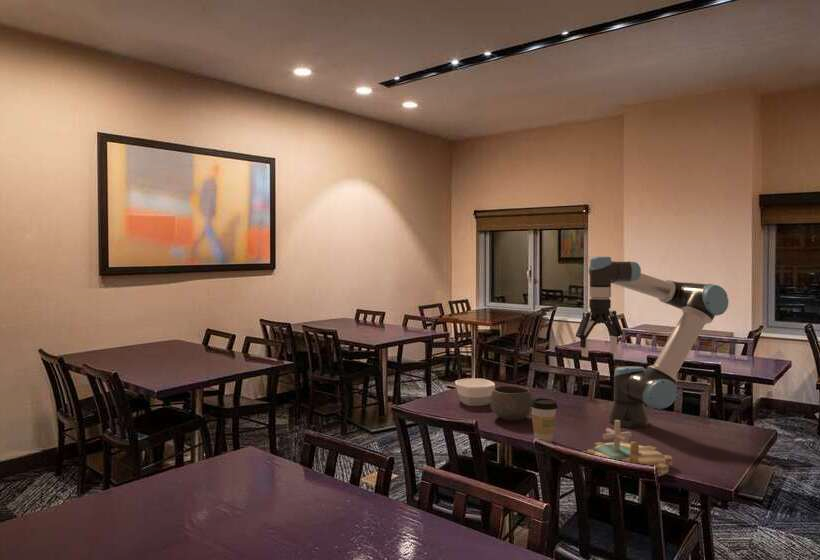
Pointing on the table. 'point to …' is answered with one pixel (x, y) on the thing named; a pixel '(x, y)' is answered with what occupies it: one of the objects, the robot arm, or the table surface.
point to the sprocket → (633, 454)
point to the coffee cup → (543, 417)
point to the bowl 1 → (474, 391)
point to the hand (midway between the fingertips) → (599, 355)
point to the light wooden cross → (617, 435)
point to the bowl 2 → (511, 402)
